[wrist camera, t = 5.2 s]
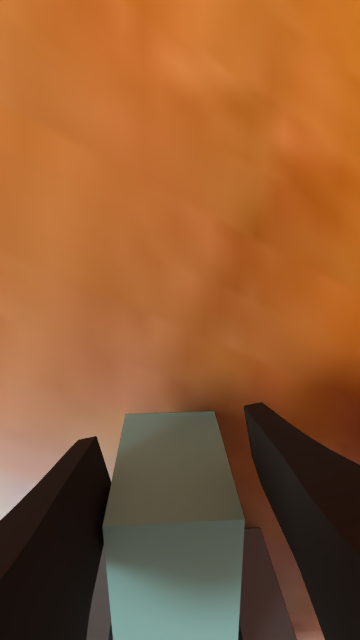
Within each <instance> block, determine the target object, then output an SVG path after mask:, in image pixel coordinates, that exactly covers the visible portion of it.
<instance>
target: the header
mask: <svg viewBox="0 0 360 640" xmlns="http://www.w3.org/2000/svg"><path fill="white" fill-rule="evenodd" d="M86 640H113V634H112V624H111V613H110V602H109V591H108V580H107V570H106V559H105V548H104V546H103V550H102V555H101V560H100V564H99V569H98V574H97V578H96V583H95V588H94V592H93V597H92V603H91V609H90V615H89V622H88V630H87V638H86ZM238 640H297V639H296V636H295V633H294V629H293V626H292V623H291V620H290V617H289V614H288V611H287V608H286V605H285V602H284V599H283V596H282V593H281V589H280V586H279V583H278V580H277V577H276V574H275V571H274V568H273V565H272V562H271V559H270V556H269V553H268V550H267V546H266V543H265V540H264V537H263V534H262V531H261V528H247V529H244V544H243V561H242V579H241V597H240V614H239V632H238Z"/></svg>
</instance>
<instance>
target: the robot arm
mask: <svg viewBox="0 0 360 640" xmlns="http://www.w3.org/2000/svg"><path fill="white" fill-rule="evenodd" d="M244 411H245V417H246V423H247V429H248V435H249V441H250V447H251V453H252V458H253V461H254V464H255V467H256V470H257V473H258V476H259V479H260V482H261V485H262V487H263V490H264V492H265V494H266V496H267V498H268V501H269V503H270V505H271V507H272V509H273V511H274V514H275V516H276V518H277V520H278V522H279V524H280V527H281V529H282V531H283V533H284V535H285V537H286V540H287V542H288V544H289V546H290V548H291V550H292V553H293V555H294V557H295V560H296V562H297V564H298V567H299V569H300V572H301V574H302V577H303V580H304V582H305V585H306V588H307V591H308V593H309V596H310V599H311V602H312V604H313V607H314V610H315V613H316V615H317V618H318V621H319V624H320V627H321V629H322V632H323V635H324V638H325V640H360V465H359V464H357V463H355V462H353V461H351V460H349V459H347V458H345V457H343V456H341V455H339V454H337V453H335V452H333V451H331V450H330V449H328V448H326V447H325V446H323V445H321V444H320V443H318V442H316V441H315V440H313V439H312V438H310V437H309V436H307V435H306V434H304V433H303V432H301V431H300V430H298V429H297V428H295V427H294V426H293V425H291V424H290V423H288V422H287V421H286V420H284V419H283V418H282V417H280V416H279V415H278V414H276V413H275V412H274V411H273V410H271V409H270V408H269V407H268V406H266V405H265V404H263V403H262V402H260V403H255V404H251V405H246V406H244ZM110 487H111V480H110V477H109V474H108V471H107V468H106V465H105V462H104V458H103V455H102V452H101V449H100V446H99V443H98V440H97V436H95V437H90V438H85V439H81V440H78V441H77V442H76V443H75V444H74V445H73V446H72V447H71V448H70V449H69V450H68V451H67V452H66V453H65V455H64V456H63V457H62V458H61V459H60V460H59V461H58V462H57V463H56V464H55V466H54V467H53V468H52V469H51V470H50V471H49V472H48V473H47V474H46V475H45V476H44V477H43V478H42V480H41V481H40V482H39V483H38V484H37V485H36V486H35V487H34V488H33V489H32V490H31V491H30V492H29V493H28V494H27V495H26V496H25V497H24V498H23V499H22V500H21V501H20V502H19V503H18V504H17V505H16V506H15V507H14V508H13V509H12V510H11V511H10V512H9V513H8V514H7V515H6V516H5V517H4V518H2V519H1V520H0V640H86V638H87V630H88V622H89V615H90V609H91V603H92V597H93V592H94V588H95V583H96V578H97V574H98V569H99V564H100V560H101V555H102V550H103V546H104V537H103V527H102V526H103V522H104V517H105V512H106V507H107V502H108V497H109V492H110Z"/></svg>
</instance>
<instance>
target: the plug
mask: <svg viewBox="0 0 360 640" xmlns="http://www.w3.org/2000/svg"><path fill="white" fill-rule="evenodd" d="M244 526H245V518H244V514H243V511H242V507H241V504H240V500H239V497H238V493H237V490H236V486H235V482H234V479H233V475H232V472H231V468H230V465H229V461H228V458H227V454H226V451H225V447H224V443H223V440H222V436H221V433H220V429H219V426H218V422H217V419H216V415H215V412H214V411H202V412H173V413H144V414H125V419H124V424H123V429H122V434H121V438H120V443H119V448H118V453H117V458H116V463H115V468H114V473H113V478H112V482H111V487H110V492H109V497H108V502H107V507H106V512H105V517H104V522H103V526H102V527H103V537H104V548H105V559H106V570H107V580H108V591H109V602H110V613H111V624H112V634H113V640H238V632H239V614H240V597H241V579H242V561H243V544H244Z"/></svg>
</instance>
